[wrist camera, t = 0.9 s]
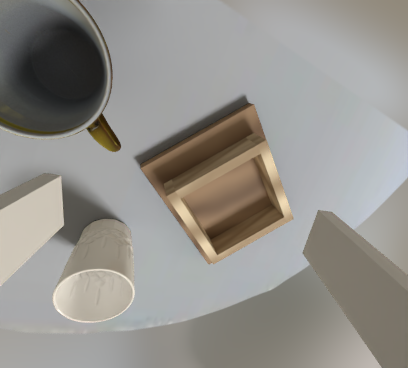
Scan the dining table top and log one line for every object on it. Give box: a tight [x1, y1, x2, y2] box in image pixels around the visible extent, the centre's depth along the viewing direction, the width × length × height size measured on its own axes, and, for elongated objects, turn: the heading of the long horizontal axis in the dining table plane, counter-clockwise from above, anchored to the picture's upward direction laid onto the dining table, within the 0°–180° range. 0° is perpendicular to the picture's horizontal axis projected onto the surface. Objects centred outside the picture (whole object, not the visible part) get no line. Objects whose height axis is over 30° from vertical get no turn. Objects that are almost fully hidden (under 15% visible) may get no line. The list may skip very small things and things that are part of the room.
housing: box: [141, 103, 294, 264], centre depth 32 cm, size 20×16×5 cm
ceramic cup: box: [0, 0, 121, 152], centre depth 20 cm, size 13×10×10 cm
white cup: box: [52, 219, 135, 323], centre depth 28 cm, size 8×8×10 cm
